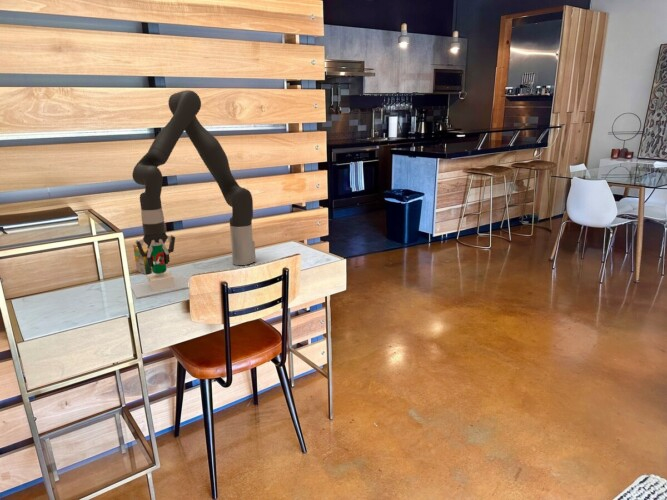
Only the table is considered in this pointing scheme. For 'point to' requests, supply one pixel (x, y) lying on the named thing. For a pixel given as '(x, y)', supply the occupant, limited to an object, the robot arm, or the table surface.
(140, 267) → the crayon box
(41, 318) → the table surface
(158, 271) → the soda can
